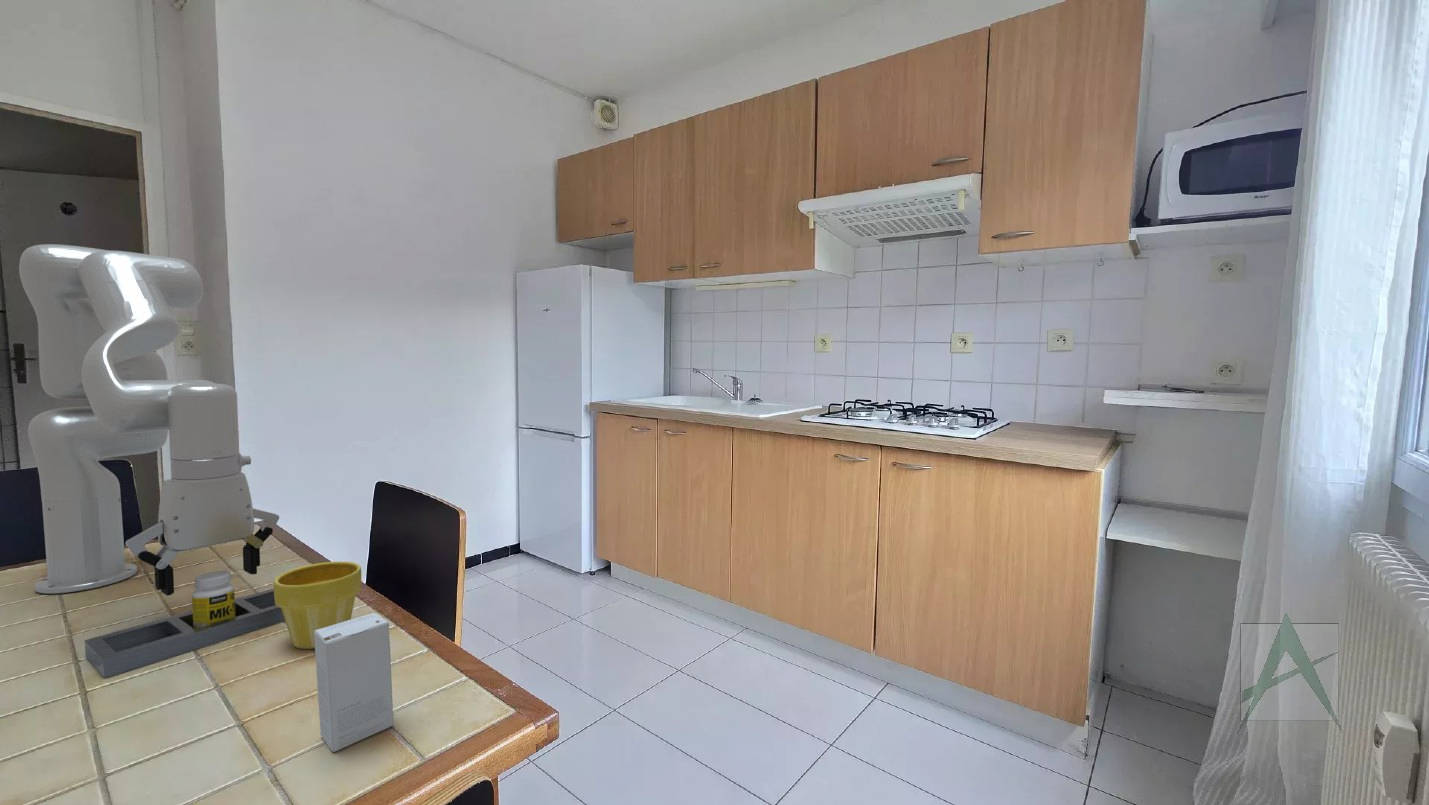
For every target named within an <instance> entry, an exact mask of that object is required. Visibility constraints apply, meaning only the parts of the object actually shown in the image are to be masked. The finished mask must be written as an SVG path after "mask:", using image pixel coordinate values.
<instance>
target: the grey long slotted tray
mask: <svg viewBox="0 0 1429 805" xmlns="http://www.w3.org/2000/svg"><path fill="white" fill-rule="evenodd" d="M283 622H286V621H285V618H284V615H283V612H282V609H281V608H280V607H278V606H277V605H276V604H275V599H274V587H272V588H270V589H267V590H264V591H260V592H256V593H251V594H248V595H245V596H241V597H238V598H237V597H236V598H235V617H234V618H230V619H227V620H224V621H220V622H217V623H213V624H210V625H207V626H203V627H200V628H197V629H193V610H189V611H186V612H183V613H179V614H175V615H172V616H168V617H164V618H160V619H157V620H154V621H153V620H152V621H150V622H145V623H142V624H139V625H135V626H131V627H128V628H125V629H121V630H117V631H113V632H110V633H106V634H103V635H99V636H96V637H92V638H91V637H90V638H88V639H85V640H84V641H83V642H84V654H85V655H84V656H85V659H86V660H87V661H88V662H89V663H90V664H91V666H92V667H93V668H95V670H96V671H97V672H98V673H99V674H100V676H101V677H103V679H107V678H110V677H113V676H117V675H120V674H123V673H126V672H129V671H133V670H136V669H138V668H143V667H145V666H148V665H151V664H154V663H157V662H161V661H164V660H167V659H170V658H174V657H176V656H179V655H184V654H186V653H189V652H192V651H195V650H198V649H202V648H204V647H207V646H211V645H214V644H217V643H221V642H223V641H226V640H230V639H232V638H236V637H240V636H242V635H245V634H249V633H251V632H255V631H257V630H261V629H264V628H267V627H270V626H274V625H277V624H280V623H283Z"/></svg>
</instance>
